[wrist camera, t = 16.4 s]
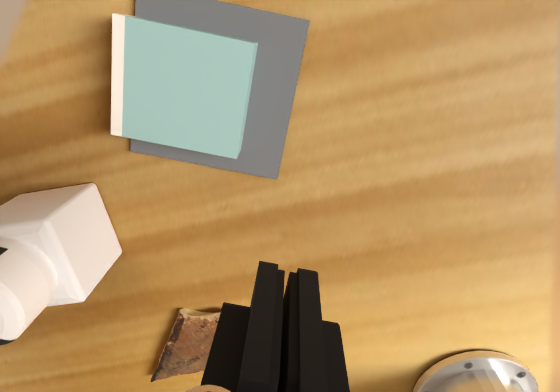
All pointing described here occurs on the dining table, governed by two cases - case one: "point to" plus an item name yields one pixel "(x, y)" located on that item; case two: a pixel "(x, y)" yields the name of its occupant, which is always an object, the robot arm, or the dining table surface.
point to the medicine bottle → (51, 252)
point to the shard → (187, 344)
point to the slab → (180, 85)
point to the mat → (265, 83)
